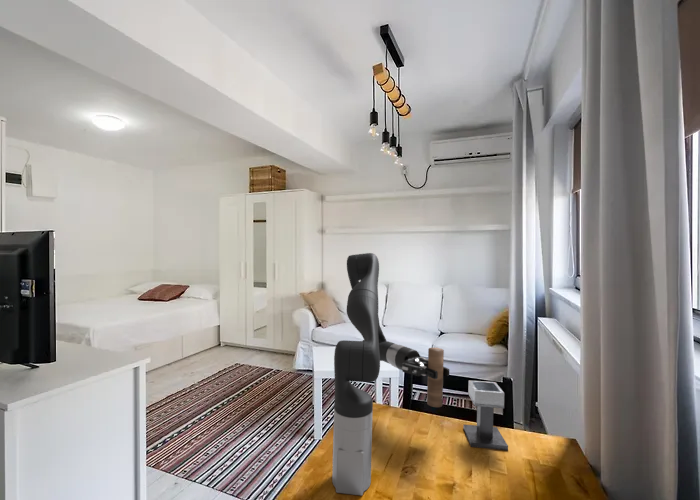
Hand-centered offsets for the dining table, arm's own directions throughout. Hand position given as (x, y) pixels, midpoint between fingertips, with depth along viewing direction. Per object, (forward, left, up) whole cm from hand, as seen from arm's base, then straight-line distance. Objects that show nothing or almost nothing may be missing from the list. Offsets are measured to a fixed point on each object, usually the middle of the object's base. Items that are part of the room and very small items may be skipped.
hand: (442, 374), depth 96 cm
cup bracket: (+4, -13, -20) cm, 24 cm away
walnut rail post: (+2, +2, -10) cm, 10 cm away
